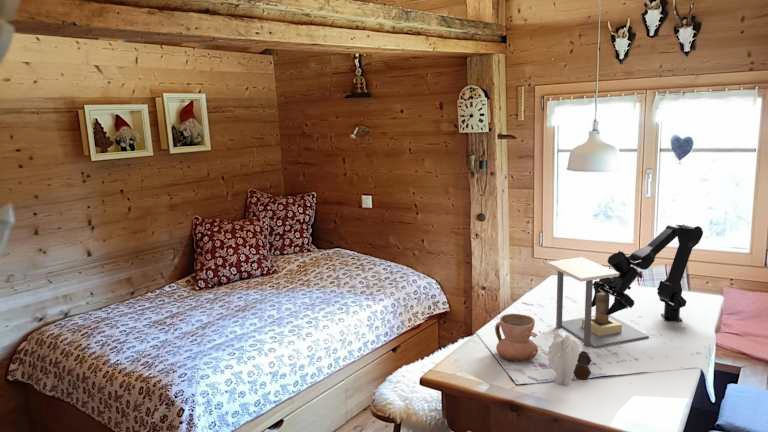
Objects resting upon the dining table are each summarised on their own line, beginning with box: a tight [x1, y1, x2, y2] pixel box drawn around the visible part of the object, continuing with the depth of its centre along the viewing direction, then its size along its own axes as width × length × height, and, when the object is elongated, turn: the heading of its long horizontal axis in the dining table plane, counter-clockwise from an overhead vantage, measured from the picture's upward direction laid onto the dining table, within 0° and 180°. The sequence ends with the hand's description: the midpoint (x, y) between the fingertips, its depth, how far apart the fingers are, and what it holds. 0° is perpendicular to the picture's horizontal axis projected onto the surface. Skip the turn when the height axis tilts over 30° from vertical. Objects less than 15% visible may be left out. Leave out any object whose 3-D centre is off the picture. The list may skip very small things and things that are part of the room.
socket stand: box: [546, 256, 650, 349], centre depth 222 cm, size 30×24×27 cm
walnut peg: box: [594, 293, 611, 326], centre depth 224 cm, size 5×5×14 cm
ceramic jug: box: [494, 313, 539, 363], centre depth 206 cm, size 18×14×14 cm
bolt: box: [573, 350, 592, 381], centre depth 196 cm, size 6×5×15 cm
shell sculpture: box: [547, 330, 580, 386], centre depth 186 cm, size 8×8×18 cm
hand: (599, 310), depth 224 cm, fingers open, 9 cm apart
